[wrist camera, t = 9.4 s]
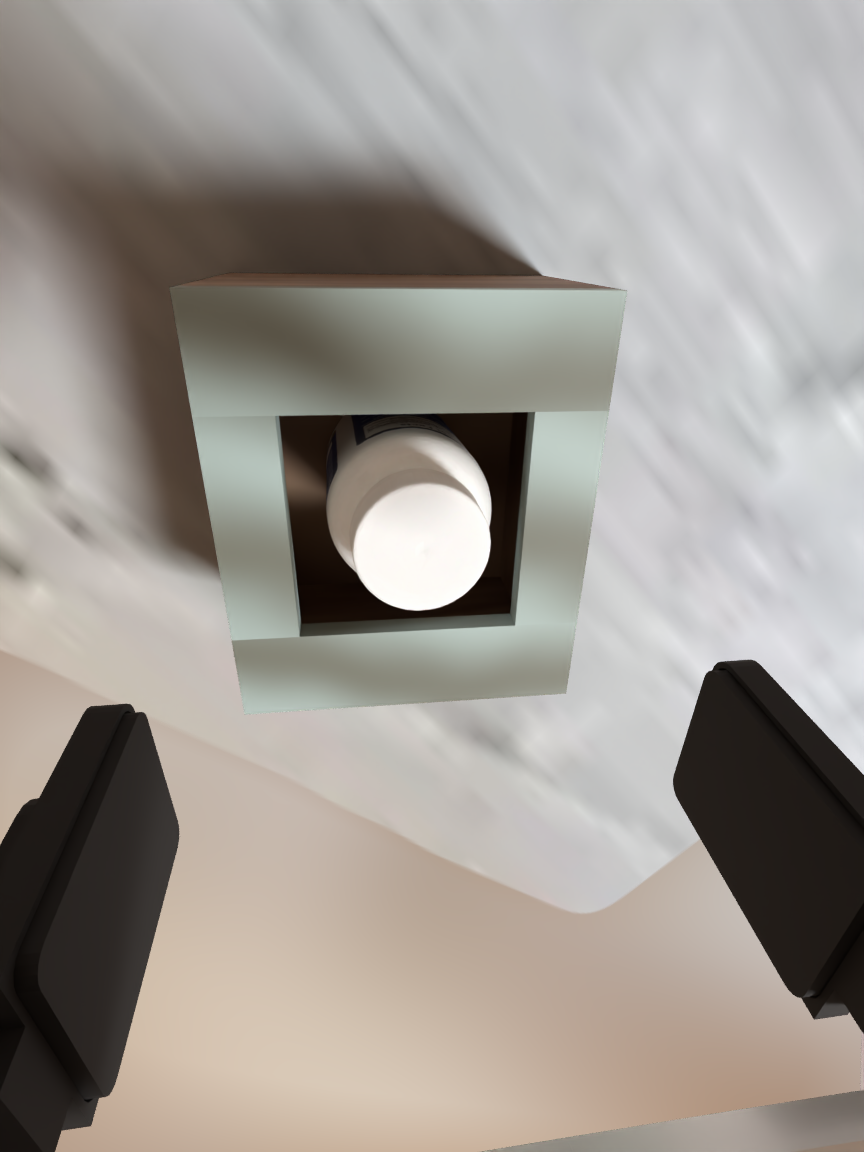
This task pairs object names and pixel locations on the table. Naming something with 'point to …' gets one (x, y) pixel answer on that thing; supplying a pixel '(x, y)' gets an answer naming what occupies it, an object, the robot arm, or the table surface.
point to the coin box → (397, 386)
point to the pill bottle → (407, 508)
